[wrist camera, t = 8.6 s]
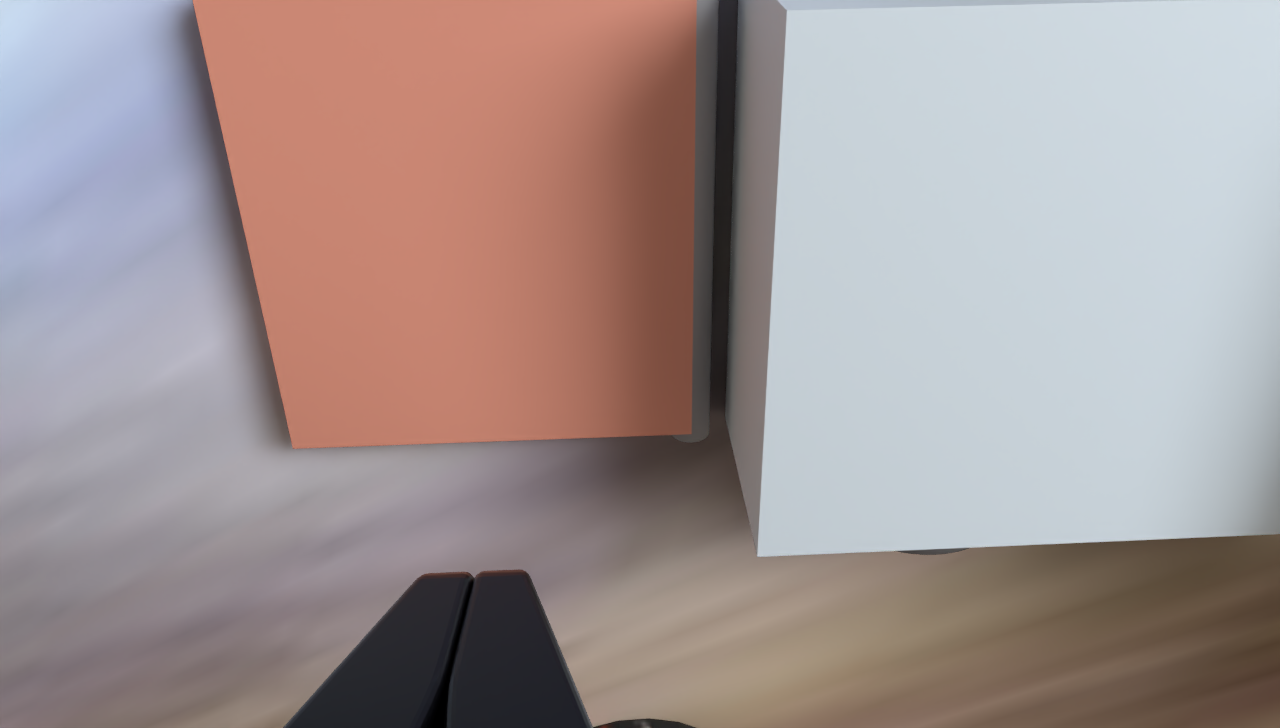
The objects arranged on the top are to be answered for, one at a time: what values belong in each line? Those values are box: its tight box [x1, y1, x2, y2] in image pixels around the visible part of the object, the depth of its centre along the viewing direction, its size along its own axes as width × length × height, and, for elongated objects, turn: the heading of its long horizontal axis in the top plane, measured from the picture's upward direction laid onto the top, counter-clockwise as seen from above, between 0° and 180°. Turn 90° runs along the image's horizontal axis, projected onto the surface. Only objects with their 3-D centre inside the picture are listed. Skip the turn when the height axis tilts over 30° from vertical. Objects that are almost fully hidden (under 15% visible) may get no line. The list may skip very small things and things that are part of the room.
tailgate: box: [193, 0, 719, 449], centre depth 18 cm, size 1×9×8 cm
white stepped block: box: [725, 0, 1280, 557], centre depth 16 cm, size 15×11×7 cm
